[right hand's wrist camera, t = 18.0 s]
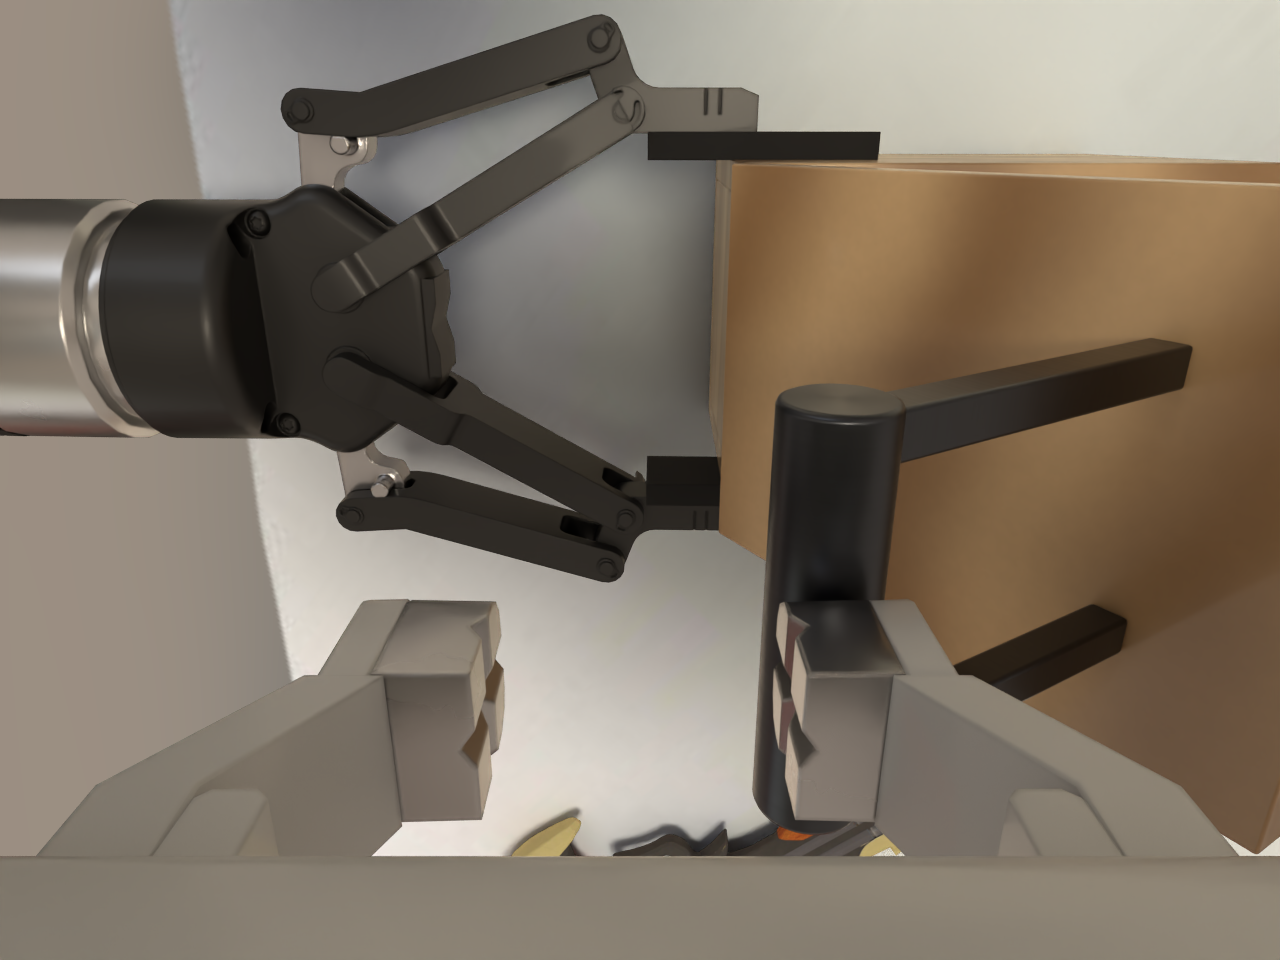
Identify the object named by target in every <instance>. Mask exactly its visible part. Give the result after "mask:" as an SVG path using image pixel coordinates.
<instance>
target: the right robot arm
mask: <svg viewBox="0 0 1280 960" xmlns="http://www.w3.org/2000/svg"><path fill="white" fill-rule="evenodd" d="M776 638H777V642H778V645H779V649H780V653H781V657H782V660H781V661H780V662H779V663H778V665H777V666H776V667H775V668H774V676H773V719H774V726H775V734H776V739H777V743H778V748H779V750H780V751H781V752H783V753H784V754H785V755H786V768H785V779H786V783H787V787H788V792H789V796H790V800H791V804H792V808H793V813H794V817H795V820H819V821H856V822H875V826H876V827H877V828H878V829H879V830H880V831H881V832H882V833H883V834H884V835H885V836H886V837H887V838H888V839H889V840H890V841H891V842H892V843H893V844H894V845H895V846H896V847H897V848H898V849H899V850H900V851H901V852H902V853H903V854H904V855H905V856H372V855H373V854H374V853H375V852H376V851H377V850H378V849H379V848H380V847H381V846H382V845H383V844H384V843H385V842H386V841H387V840H388V839H389V838H390V837H391V836H393V835H394V834H395V833H396V832H397V831H398V830H399V829H400V828H401V827H402V822H420V821H456V820H482V817H483V813H484V808H485V804H486V800H487V796H488V792H489V788H490V783H491V779H492V767H491V755H492V754H493V753H495V752H496V751H497V750H498V749H499V744H500V740H501V735H502V728H503V718H504V697H505V687H504V669H503V668H502V667H501V665H500V664H499V663H498V662H497V661H496V660H495V657H496V654H497V650H498V646H499V642H500V639H501V628H500V617H499V609H498V606H497V603H496V602H492V601H438V600H411V601H410V600H408V599H391V600H368V601H363V602H362V603H361V605H360V606H359V608H358V610H357V611H356V613H355V615H354V616H353V618H352V619H351V621H350V623H349V624H348V626H347V628H346V629H345V631H344V633H343V634H342V636H341V638H340V639H339V641H338V643H337V644H336V646H335V648H334V649H333V651H332V652H331V654H330V656H329V657H328V659H327V661H326V662H325V664H324V666H323V667H322V669H321V671H320V672H319V674H318V675H304V676H302V677H300V678H298V679H296V680H295V681H293V682H291V683H289V684H287V685H285V686H283V687H281V688H279V689H277V690H276V691H274V692H272V693H270V694H268V695H266V696H264V697H262V698H260V699H258V700H257V701H255V702H253V703H251V704H249V705H247V706H245V707H243V708H241V709H240V710H238V711H236V712H234V713H232V714H230V715H228V716H226V717H224V718H222V719H221V720H219V721H217V722H215V723H213V724H211V725H209V726H207V727H205V728H204V729H202V730H200V731H198V732H196V733H194V734H192V735H190V736H188V737H186V738H185V739H183V740H181V741H179V742H177V743H175V744H173V745H171V746H169V747H167V748H166V749H164V750H162V751H160V752H158V753H156V754H154V755H152V756H150V757H149V758H147V759H145V760H143V761H141V762H139V763H137V764H135V765H133V766H132V767H130V768H128V769H126V770H124V771H122V772H120V773H118V774H116V775H114V776H113V777H111V778H109V779H107V780H105V781H103V782H101V783H99V784H97V785H96V786H95V787H94V788H93V789H92V790H91V792H90V793H89V794H88V795H87V796H86V798H85V799H84V800H83V801H82V802H81V804H80V805H79V806H78V807H77V808H76V809H75V811H74V812H73V813H72V814H71V815H70V817H69V818H68V819H67V820H66V821H65V822H64V824H63V825H62V826H61V827H60V828H59V830H58V831H57V832H56V833H55V834H54V835H53V837H52V838H51V839H50V840H49V841H48V843H47V844H46V845H45V846H44V847H43V848H42V850H41V851H40V852H39V853H38V854H37V856H0V960H1280V856H1239V855H1238V854H1237V853H1236V851H1235V850H1234V849H1233V848H1232V847H1231V845H1230V844H1229V843H1228V842H1227V841H1226V839H1225V838H1224V837H1223V836H1222V835H1221V833H1220V832H1219V831H1218V830H1217V829H1216V827H1215V826H1214V825H1213V824H1212V823H1211V821H1210V820H1209V819H1208V818H1207V817H1206V815H1205V814H1204V813H1203V812H1202V811H1201V809H1200V808H1199V807H1198V806H1197V805H1196V803H1195V802H1194V801H1193V800H1192V799H1191V797H1190V796H1189V795H1188V794H1187V793H1186V791H1185V790H1184V789H1183V788H1182V787H1181V786H1180V785H1178V784H1176V783H1174V782H1172V781H1170V780H1168V779H1166V778H1165V777H1163V776H1161V775H1159V774H1157V773H1155V772H1153V771H1151V770H1149V769H1148V768H1146V767H1144V766H1142V765H1140V764H1138V763H1136V762H1134V761H1133V760H1131V759H1129V758H1127V757H1125V756H1123V755H1121V754H1119V753H1117V752H1116V751H1114V750H1112V749H1110V748H1108V747H1106V746H1104V745H1102V744H1101V743H1099V742H1097V741H1095V740H1093V739H1091V738H1089V737H1087V736H1085V735H1084V734H1082V733H1080V732H1078V731H1076V730H1074V729H1072V728H1070V727H1069V726H1067V725H1065V724H1063V723H1061V722H1059V721H1057V720H1055V719H1054V718H1052V717H1050V716H1048V715H1046V714H1044V713H1042V712H1040V711H1038V710H1037V709H1035V708H1033V707H1031V706H1029V705H1027V704H1025V703H1023V702H1022V701H1020V700H1018V699H1016V698H1014V697H1012V696H1010V695H1008V694H1006V693H1005V692H1003V691H1001V690H999V689H997V688H995V687H993V686H991V685H990V684H988V683H986V682H984V681H982V680H980V679H978V678H976V677H974V676H973V675H958V673H957V671H956V670H955V668H954V666H953V665H952V663H951V661H950V660H949V658H948V657H947V655H946V653H945V652H944V650H943V648H942V647H941V645H940V643H939V642H938V640H937V638H936V637H935V635H934V634H933V632H932V630H931V629H930V627H929V625H928V624H927V622H926V620H925V619H924V617H923V615H922V614H921V612H920V611H919V609H918V607H917V606H916V604H915V602H913V601H911V600H909V599H894V600H872V601H869V600H844V601H803V602H783V603H780V605H779V611H778V616H777V629H776Z"/></svg>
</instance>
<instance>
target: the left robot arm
mask: <svg viewBox="0 0 1280 960" xmlns="http://www.w3.org/2000/svg"><path fill="white" fill-rule="evenodd" d="M589 75H590V76H591V79H592V82H593V85H594V88H595V91H596V94H597V96H598V100H596V101H595V102H593V103H592V104H590V105H588V106H587V107H585V108H584V109H582V110H581V111H579V112H577V113H576V114H574V115H573V116H571V117H570V118H568V119H566V120H565V121H563V122H562V123H560V124H559V125H557V126H555V127H554V128H552V129H551V130H549V131H547V132H546V133H544V134H543V135H541V136H540V137H538V138H536V139H535V140H533V141H532V142H530V143H529V144H527V145H525V146H524V147H522V148H521V149H519V150H517V151H516V152H514V153H513V154H511V155H510V156H508V157H506V158H505V159H503V160H502V161H500V162H499V163H497V164H495V165H494V166H492V167H491V168H489V169H487V170H486V171H484V172H483V173H481V174H480V175H478V176H476V177H475V178H473V179H472V180H470V181H469V182H467V183H465V184H464V185H462V186H461V187H459V188H458V189H456V190H454V191H453V192H451V193H450V194H448V195H446V196H445V197H443V198H442V199H440V200H439V201H437V202H435V203H434V204H432V205H430V206H429V207H427V208H425V209H423V210H421V211H419V212H418V213H416V214H414V215H413V216H411V217H410V218H408V219H406V220H405V221H403V222H402V223H400V224H397V223H396V222H394V221H393V220H391V219H390V218H388V217H387V216H386V215H384V214H383V213H381V212H380V211H379V210H377V209H376V208H374V207H373V206H371V205H370V204H369V203H367V202H366V201H364V200H363V199H362V198H360V197H359V196H357V195H356V194H355V193H353V192H352V191H350V190H349V189H347V188H346V187H344V183H345V177H346V174H347V173H348V171H349V170H350V169H351V168H353V167H354V166H357V165H361V164H365V163H368V162H369V161H371V160H372V159H373V158H374V156H375V154H376V152H377V137H390V136H399V135H403V134H407V133H411V132H415V131H418V130H421V129H425V128H428V127H431V126H434V125H437V124H440V123H443V122H446V121H449V120H453V119H456V118H459V117H462V116H465V115H468V114H471V113H474V112H477V111H481V110H484V109H487V108H490V107H493V106H496V105H499V104H502V103H505V102H509V101H512V100H515V99H518V98H521V97H524V96H527V95H530V94H533V93H537V92H540V91H543V90H546V89H549V88H552V87H555V86H558V85H561V84H565V83H568V82H571V81H574V80H577V79H580V78H583V77H586V76H589ZM758 101H759V95H757V94H754V93H752V92H750V91H748V90H745V89H743V88H658V87H652V86H649V85H647V84H645V83H644V82H643V81H641V80H640V79H639V77H638V76H637V75H636V73H635V71H634V69H633V66H632V63H631V60H630V57H629V54H628V51H627V48H626V45H625V42H624V39H623V36H622V33H621V31H620V29H619V27H618V25H617V23H616V22H615V21H614V20H613V19H612V18H610V17H608V16H605V15H602V14H600V15H592V16H589V17H586V18H583V19H580V20H577V21H574V22H571V23H568V24H565V25H562V26H559V27H556V28H553V29H550V30H547V31H544V32H541V33H538V34H535V35H532V36H529V37H526V38H523V39H520V40H517V41H514V42H511V43H508V44H505V45H502V46H499V47H495V48H492V49H489V50H486V51H483V52H480V53H477V54H474V55H471V56H468V57H465V58H462V59H459V60H456V61H453V62H450V63H447V64H444V65H441V66H438V67H435V68H432V69H429V70H426V71H423V72H420V73H417V74H414V75H411V76H408V77H405V78H402V79H399V80H395V81H392V82H389V83H386V84H383V85H380V86H377V87H374V88H371V89H368V90H365V91H362V92H350V91H336V90H323V89H309V88H296V89H292V90H290V91H289V92H287V93H286V94H285V96H284V98H283V99H282V103H281V112H282V116H283V119H284V121H285V122H286V124H287V125H288V126H289V127H290V128H291V129H293V130H294V131H295V132H298V140H299V154H300V168H301V183H302V186H300V187H298V188H296V189H295V190H293V191H292V192H290V193H289V194H287V195H285V196H283V197H281V198H279V199H272V200H163V199H162V200H150V201H146V202H144V203H142V204H140V205H137V204H135V203H133V202H130V201H128V200H125V199H0V436H4V435H7V436H74V437H130V438H144V437H152V436H154V435H157V434H159V433H162V434H165V435H167V436H170V437H176V438H261V439H273V438H304V439H308V440H311V441H314V442H317V443H319V444H321V445H323V446H325V447H327V448H329V449H331V450H334V451H337V455H338V460H339V465H340V470H341V475H342V480H343V485H344V490H345V498H344V499H343V500H342V501H341V502H340V503H339V505H338V507H337V509H336V517H337V519H338V522H339V523H340V524H341V525H342V526H343V527H344V528H346V529H348V530H350V531H376V530H396V529H408V530H411V531H415V532H419V533H423V534H426V535H430V536H434V537H437V538H441V539H445V540H448V541H452V542H456V543H460V544H463V545H467V546H471V547H474V548H478V549H482V550H486V551H489V552H493V553H497V554H500V555H504V556H508V557H512V558H515V559H519V560H523V561H526V562H530V563H534V564H538V565H541V566H545V567H549V568H552V569H556V570H560V571H564V572H567V573H571V574H575V575H578V576H582V577H586V578H590V579H593V580H597V581H601V582H613V581H616V580H617V579H619V578H620V577H621V575H622V574H623V572H624V564H625V562H626V560H627V557H628V555H629V552H630V550H631V547H632V545H633V543H634V541H635V539H636V538H637V537H638V536H639V535H640V534H642V533H643V532H645V531H648V530H693V529H695V530H719V509H720V481H721V477H720V472H719V466H718V460H717V457H692V456H647V477H646V482H645V479H644V477H643V475H642V474H641V473H640V472H638V471H637V472H636V475H635V477H634V476H632V475H630V474H628V473H627V472H625V471H623V470H621V469H619V468H617V467H616V466H614V465H612V464H610V463H608V462H606V461H605V460H603V459H601V458H599V457H597V456H595V455H594V454H592V453H590V452H588V451H586V450H585V449H583V448H581V447H579V446H577V445H575V444H574V443H572V442H570V441H568V440H566V439H564V438H563V437H561V436H559V435H557V434H555V433H553V432H552V431H550V430H548V429H546V428H544V427H542V426H541V425H539V424H537V423H535V422H533V421H531V420H530V419H528V418H526V417H524V416H522V415H520V414H519V413H517V412H515V411H513V410H511V409H509V408H508V407H506V406H504V405H502V404H500V403H498V402H497V401H495V400H493V399H491V398H489V397H487V396H486V395H484V394H483V393H482V392H481V391H480V390H479V388H478V387H477V386H476V385H475V384H473V383H471V382H470V381H468V380H466V379H464V378H463V377H461V376H459V375H457V374H455V373H453V372H452V371H451V368H452V366H453V365H454V364H455V363H456V358H455V345H454V339H453V336H452V333H451V330H450V327H449V324H448V321H447V318H446V314H447V309H448V304H449V298H450V280H449V270H444V269H443V266H442V264H441V262H440V260H439V258H438V257H437V254H439V253H441V252H442V251H444V250H445V249H447V248H449V247H450V246H452V245H453V244H455V243H457V242H458V241H460V240H462V239H463V238H465V237H466V236H468V235H469V234H471V233H472V232H474V231H476V230H477V229H479V228H480V227H482V226H484V225H485V224H487V223H489V222H490V221H492V220H493V219H495V218H497V217H498V216H500V215H501V214H503V213H505V212H506V211H508V210H510V209H511V208H513V207H514V206H516V205H518V204H519V203H521V202H522V201H524V200H526V199H527V198H529V197H531V196H532V195H534V194H535V193H537V192H539V191H540V190H542V189H543V188H545V187H547V186H548V185H550V184H552V183H553V182H555V181H556V180H558V179H560V178H561V177H563V176H564V175H566V174H568V173H569V172H571V171H573V170H574V169H576V168H577V167H579V166H581V165H582V164H584V163H585V162H587V161H589V160H590V159H592V158H594V157H595V156H597V155H598V154H600V153H602V152H603V151H605V150H606V149H608V148H610V147H611V146H613V145H615V144H616V143H618V142H619V141H621V140H623V139H624V138H626V137H627V136H629V135H631V134H632V133H648V160H878V154H879V143H880V133H881V132H757V122H758ZM397 424H400V425H402V426H404V427H406V428H408V429H409V430H411V431H413V432H415V433H417V434H419V435H421V436H423V437H424V438H426V439H428V440H430V441H432V442H434V443H437V444H440V445H452V446H454V447H457V448H458V449H460V450H462V451H464V452H466V453H468V454H470V455H472V456H474V457H475V458H477V459H479V460H481V461H483V462H485V463H487V464H489V465H490V466H492V467H494V468H496V469H498V470H500V471H502V472H504V473H505V474H507V475H509V476H511V477H513V478H515V479H517V480H519V481H521V482H522V483H524V484H526V485H528V486H530V487H532V488H534V489H536V490H537V491H539V492H541V493H543V494H545V495H547V496H549V497H551V498H552V499H554V500H556V501H558V502H560V503H562V504H564V505H566V506H568V507H569V508H571V509H573V510H575V511H577V512H575V511H571V510H568V509H564V508H561V507H557V506H553V505H550V504H546V503H542V502H539V501H535V500H532V499H528V498H524V497H521V496H517V495H513V494H510V493H506V492H503V491H499V490H495V489H492V488H488V487H484V486H481V485H477V484H474V483H470V482H466V481H463V480H459V479H455V478H452V477H448V476H445V475H440V474H436V473H431V472H422V471H410V470H409V468H408V466H407V464H406V462H404V461H403V460H401V459H398V458H393V457H388V456H386V455H384V454H382V453H381V452H380V451H378V449H377V448H376V446H375V443H374V441H375V440H377V439H378V438H379V437H381V436H382V435H383V434H385V433H386V432H388V431H389V430H390V429H392V428H393V427H394V426H396V425H397Z"/></svg>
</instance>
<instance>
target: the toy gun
mask: <svg viewBox="0 0 1280 960" xmlns="http://www.w3.org/2000/svg"><path fill="white" fill-rule="evenodd" d="M580 825H581V821H580V820H578V819H577V818H573V817H570V818H567V819H565V820H563V821H561V822H558V823H556V824H554V825H552V826H551V827H549V828H547V829H545V830H543V831H541V832H539V833H538V834H536V835H534V836H533V837H531V838H530V839H528V840H527V841H526V842H525V843H523V844H522V845H521V846H520V847H519V848H518V849H517V850H516V851H515V852H514V853H513V854H512V856H576V855H575V854H574V852H573V850H572V848H571V846H570V843H571V842H572V840H573V839H574V837H575V835H576V834H577V832H578V830H579V828H580ZM887 848H891V849H892V850H893V852H894V853H895V855H897V854H898V853H900V852H901V851H900V850H899V849H898V848H897V847H896V846H895V845H894V844H893V843H892V842H891V841H890V840H889V839H888V838H887V837H886V836H885V835H884V834H883V833H882V832H881V831H880V830H879V829H878V828H877V827H876V826H875V822H856V821H852V822H851V823H850V824H849V825H848V826H846V827H845V828H843V829H841V830H839V831H837V832H833V833H830V834H824V835H807V834H800V833H796V832H793V831H789V830H787V829H784V828H782V827H780V826H779V828H778V829H777V831H776V832H775V833H774V834H772V835H770V836H768V837H766V838H764V839H762V840H761V841H759V842H757V843H755V844H753V845H751V846H749V847H746V848H743V849H740V850H737V851H734V852H730V853H727V851H728V838H727V829H724V830H723V831H722V832H721V833H720V834H719V835H718V837H717V838H716V839H715V840H714V841H713V842H711V843H710V844H709V845H708V846H706V847H705V848H704V849H703V850H701V851H700V852H695V851H693V850H692V849H691V847H690V846H689V844H688V843H687V842H686V841H685V840H684V839H683V838H681V837H679V836H676V835H672V834H668V835H665V836H663V837H661V838H659V839H658V840H656V841H654V842H652V843H650V844H647V845H645V846H642V847H639V848H635V849H631V850H626V851H622V852H618V853H615V854H613V856H665V855H670V856H873V855H875V854H877V853H879V852H881V851H883V850H885V849H887Z"/></svg>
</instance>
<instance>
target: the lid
mask: <svg viewBox="0 0 1280 960" xmlns="http://www.w3.org/2000/svg"><path fill="white" fill-rule="evenodd" d="M719 533H720V534H722V535H723V536H725V537H727V538H728V539H730V540H732V541H733V542H735V543H737V544H738V545H740V546H742V547H743V548H745V549H747V550H748V551H750V552H752V553H753V554H755V555H757V556H758V557H760V558H762V559H763V560H765V561H766V568H765V585H764V602H763V619H762V635H761V652H760V669H759V686H758V703H757V720H756V737H755V754H754V771H753V788H752V790H753V796H754V799H755V801H756V803H757V805H758V807H759V809H760V810H761V812H762V813H763V814H764V815H765V816H766V817H767V818H768V819H769V820H771V821H772V822H774V823H775V824H777V825H778V826H780V827H782V828H784V829H787V830H789V831H793V832H796V833H800V834H807V835H824V834H830V833H833V832H837V831H839V830H841V829H843V828H845V827H846V826H848V825H849V824H850V823H851V822H852V821H819V820H795V817H794V813H793V808H792V804H791V800H790V796H789V792H788V787H787V783H786V779H785V768H786V755H785V754H784V753H783V752H781V751H780V750H779V748H778V743H777V739H776V734H775V726H774V719H773V676H774V668H775V667H776V666H777V665H778V663H779V662H780V661H781V660H782V657H781V653H780V649H779V645H778V642H777V638H776V629H777V616H778V611H779V605H780V603H783V602H803V601H844V600H869V601H872V600H894V599H909V600H911V601H913V602H915V604H916V606H917V607H918V609H919V611H920V612H921V614H922V615H923V617H924V619H925V620H926V622H927V624H928V625H929V627H930V629H931V630H932V632H933V634H934V635H935V637H936V638H937V640H938V642H939V643H940V645H941V647H942V648H943V650H944V652H945V653H946V655H947V657H948V658H949V660H950V661H951V663H952V665H953V666H954V668H955V670H956V671H957V673H958V675H973V676H974V677H976V678H978V679H980V680H982V681H984V682H986V683H988V684H990V685H991V686H993V687H995V688H997V689H999V690H1001V691H1003V692H1005V693H1006V694H1008V695H1010V696H1012V697H1014V698H1016V699H1018V700H1020V701H1022V702H1023V703H1025V704H1027V705H1029V706H1031V707H1033V708H1035V709H1037V710H1038V711H1040V712H1042V713H1044V714H1046V715H1048V716H1050V717H1052V718H1054V719H1055V720H1057V721H1059V722H1061V723H1063V724H1065V725H1067V726H1069V727H1070V728H1072V729H1074V730H1076V731H1078V732H1080V733H1082V734H1084V735H1085V736H1087V737H1089V738H1091V739H1093V740H1095V741H1097V742H1099V743H1101V744H1102V745H1104V746H1106V747H1108V748H1110V749H1112V750H1114V751H1116V752H1117V753H1119V754H1121V755H1123V756H1125V757H1127V758H1129V759H1131V760H1133V761H1134V762H1136V763H1138V764H1140V765H1142V766H1144V767H1146V768H1148V769H1149V770H1151V771H1153V772H1155V773H1157V774H1159V775H1161V776H1163V777H1165V778H1166V779H1168V780H1170V781H1172V782H1174V783H1176V784H1178V785H1180V786H1181V787H1182V788H1183V789H1184V790H1185V791H1186V793H1187V794H1188V795H1189V796H1190V797H1191V799H1192V800H1193V801H1194V802H1195V803H1196V805H1197V806H1198V807H1199V808H1200V809H1201V811H1202V812H1203V813H1204V814H1205V815H1206V817H1207V818H1208V819H1209V820H1210V821H1211V823H1212V824H1213V825H1214V826H1215V827H1216V829H1217V830H1218V831H1219V832H1220V833H1221V834H1222V835H1224V836H1226V837H1227V838H1229V839H1231V840H1232V841H1234V842H1236V843H1237V844H1239V845H1241V846H1242V847H1244V848H1246V849H1247V850H1249V851H1251V852H1252V853H1254V854H1259V853H1260V852H1261V851H1263V850H1264V849H1265V848H1266V847H1267V846H1269V845H1270V844H1271V843H1272V842H1274V841H1275V840H1276V839H1277V838H1279V837H1280V184H1275V183H1249V182H1224V181H1198V180H1173V179H1147V178H1122V177H1096V176H1071V175H1045V174H1020V173H994V172H969V171H943V170H918V169H892V168H867V167H841V166H816V165H790V164H765V163H742V164H733V165H732V178H731V206H730V233H729V261H728V288H727V316H726V344H725V371H724V399H723V426H722V454H721V481H720V509H719Z"/></svg>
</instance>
